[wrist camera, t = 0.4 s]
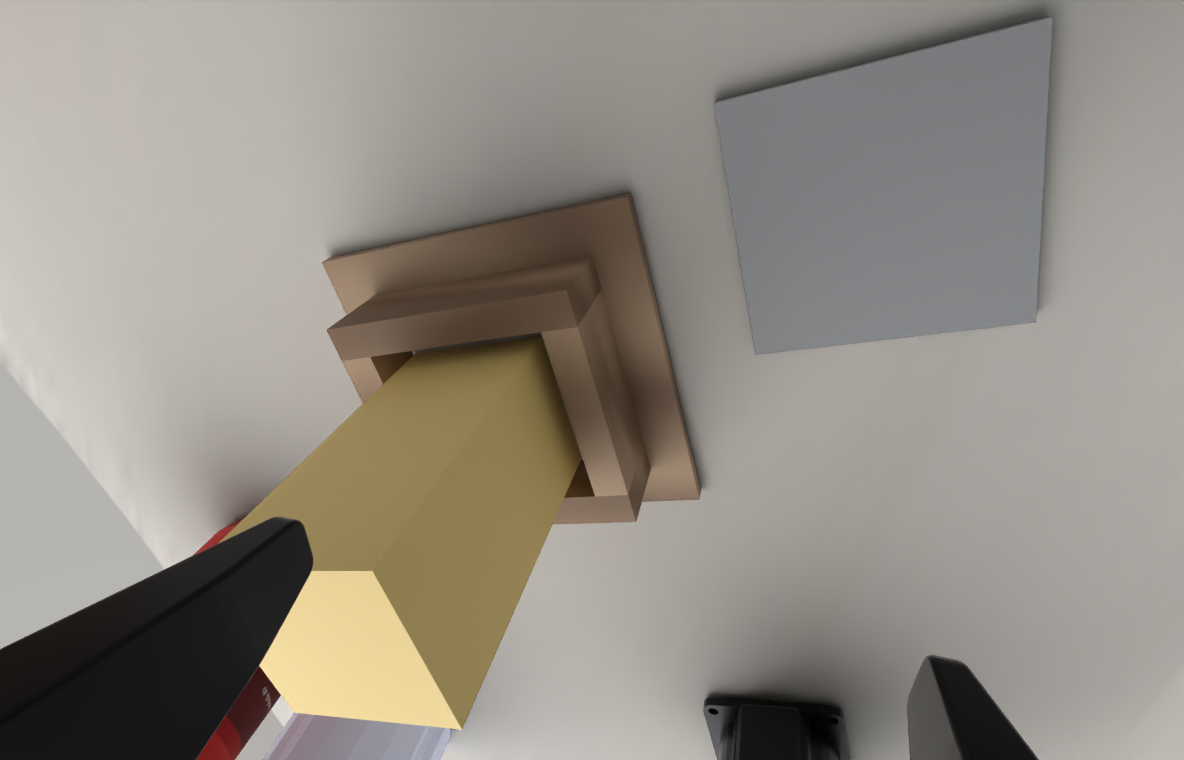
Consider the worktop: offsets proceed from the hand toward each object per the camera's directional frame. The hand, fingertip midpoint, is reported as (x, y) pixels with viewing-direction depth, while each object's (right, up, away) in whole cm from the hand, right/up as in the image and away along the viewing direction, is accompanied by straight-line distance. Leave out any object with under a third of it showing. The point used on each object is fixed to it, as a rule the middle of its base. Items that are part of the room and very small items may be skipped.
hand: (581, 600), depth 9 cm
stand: (+8, +8, +9) cm, 15 cm away
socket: (-3, +3, +16) cm, 16 cm away
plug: (-3, +3, +15) cm, 16 cm away
